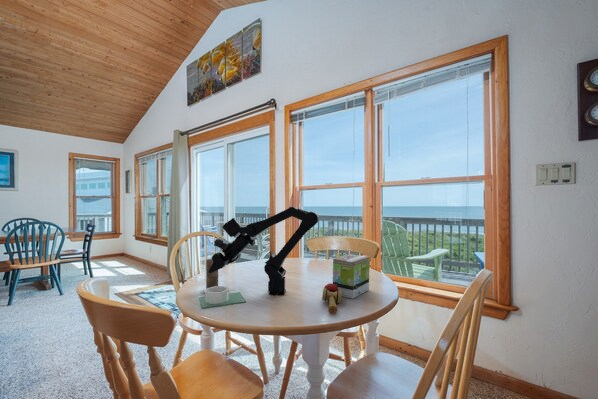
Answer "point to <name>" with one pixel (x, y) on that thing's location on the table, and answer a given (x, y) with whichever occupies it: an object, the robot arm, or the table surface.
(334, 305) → the kendama
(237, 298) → the putting mat
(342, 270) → the tea box
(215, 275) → the walnut peg
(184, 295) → the table surface
